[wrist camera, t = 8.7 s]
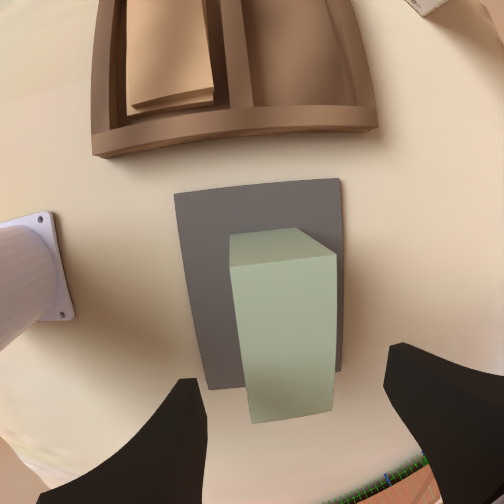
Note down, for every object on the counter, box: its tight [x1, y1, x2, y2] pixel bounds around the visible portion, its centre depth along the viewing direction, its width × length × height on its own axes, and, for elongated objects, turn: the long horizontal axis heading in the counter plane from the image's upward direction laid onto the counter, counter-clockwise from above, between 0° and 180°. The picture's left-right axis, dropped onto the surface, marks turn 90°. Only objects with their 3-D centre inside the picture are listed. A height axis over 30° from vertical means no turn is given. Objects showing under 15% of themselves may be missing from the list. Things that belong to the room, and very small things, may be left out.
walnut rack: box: [91, 0, 378, 159], centre depth 14 cm, size 17×13×2 cm
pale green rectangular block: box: [229, 228, 337, 424], centre depth 15 cm, size 4×8×7 cm, turn 6°
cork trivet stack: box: [126, 0, 215, 119], centre depth 13 cm, size 5×9×2 cm, turn 6°
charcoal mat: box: [174, 178, 344, 390], centre depth 19 cm, size 10×14×1 cm
